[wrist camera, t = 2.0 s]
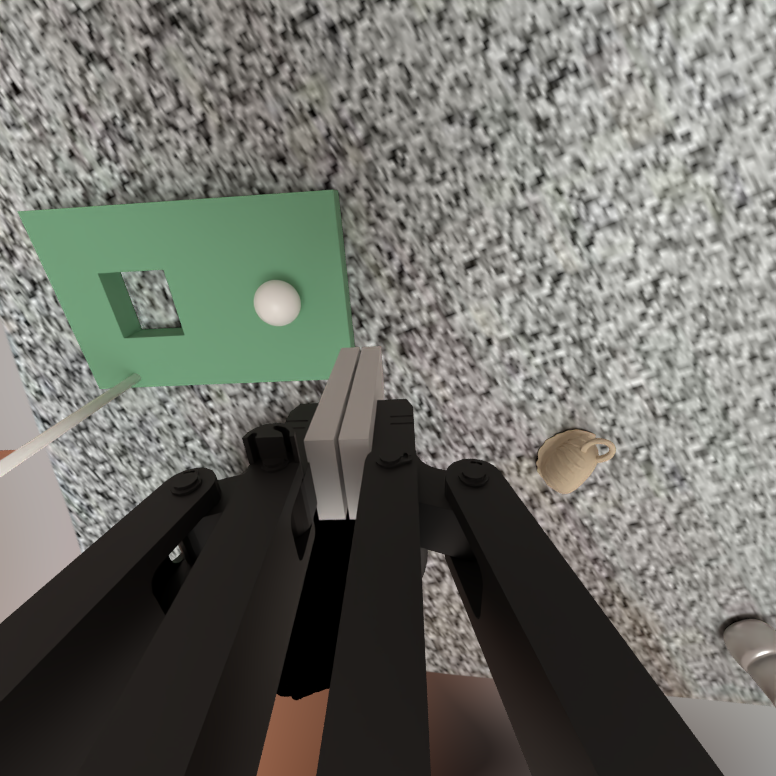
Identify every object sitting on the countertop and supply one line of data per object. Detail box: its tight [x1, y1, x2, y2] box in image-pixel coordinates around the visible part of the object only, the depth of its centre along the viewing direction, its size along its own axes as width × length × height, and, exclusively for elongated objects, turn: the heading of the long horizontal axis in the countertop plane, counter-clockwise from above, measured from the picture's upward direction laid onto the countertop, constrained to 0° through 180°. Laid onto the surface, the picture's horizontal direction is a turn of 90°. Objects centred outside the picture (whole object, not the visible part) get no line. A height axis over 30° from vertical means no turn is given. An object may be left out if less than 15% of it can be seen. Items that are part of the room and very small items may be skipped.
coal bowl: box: [242, 471, 428, 700], centre depth 34 cm, size 20×20×19 cm
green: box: [0, 190, 355, 477], centre depth 25 cm, size 15×24×16 cm, turn 93°
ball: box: [254, 280, 301, 326], centre depth 29 cm, size 4×4×4 cm
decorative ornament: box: [536, 429, 616, 494], centre depth 37 cm, size 4×8×5 cm, turn 150°
